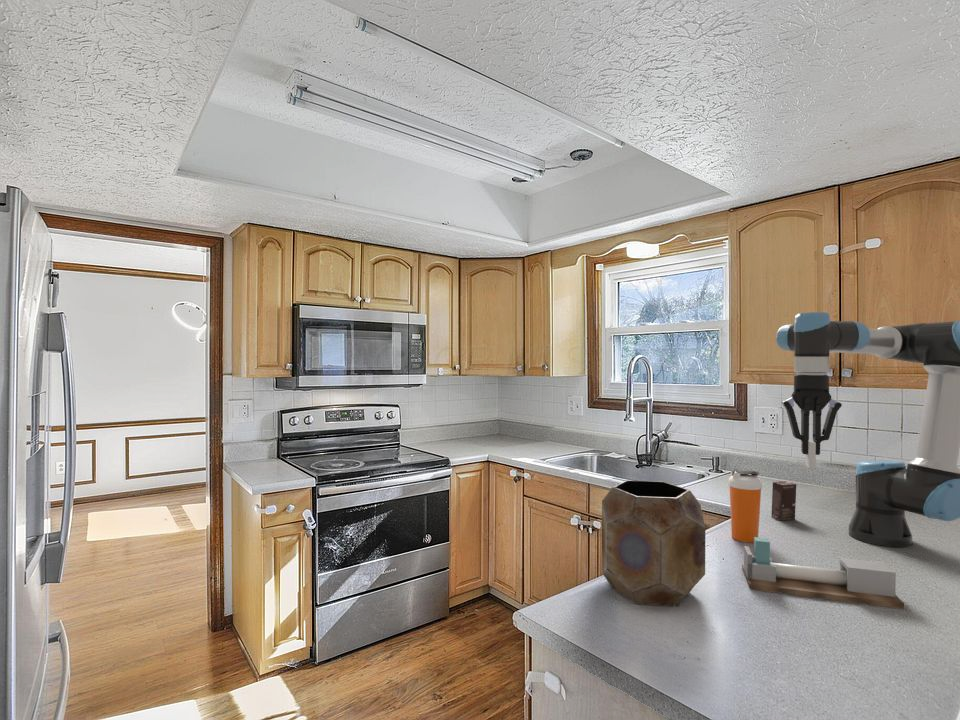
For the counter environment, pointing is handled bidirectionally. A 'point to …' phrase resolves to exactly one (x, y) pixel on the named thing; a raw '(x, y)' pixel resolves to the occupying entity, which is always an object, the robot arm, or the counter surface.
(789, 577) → the bolt
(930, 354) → the robot arm
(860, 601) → the board
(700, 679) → the counter surface
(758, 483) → the shaker bottle
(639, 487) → the planter
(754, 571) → the socket
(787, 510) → the box
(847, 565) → the sleeve
